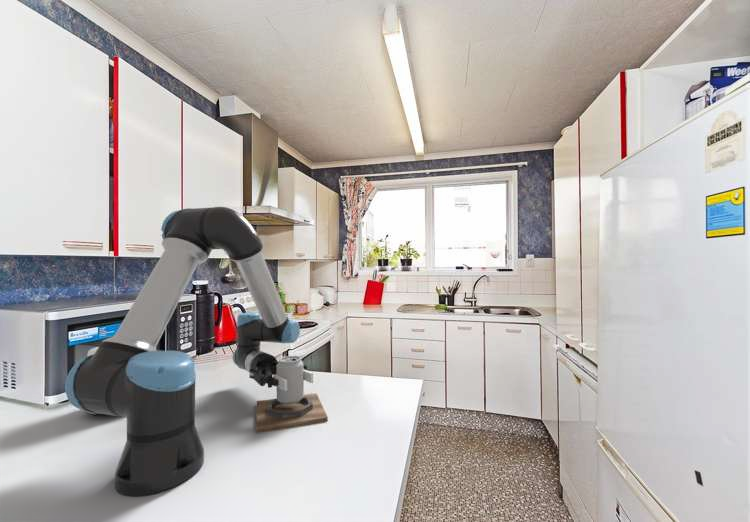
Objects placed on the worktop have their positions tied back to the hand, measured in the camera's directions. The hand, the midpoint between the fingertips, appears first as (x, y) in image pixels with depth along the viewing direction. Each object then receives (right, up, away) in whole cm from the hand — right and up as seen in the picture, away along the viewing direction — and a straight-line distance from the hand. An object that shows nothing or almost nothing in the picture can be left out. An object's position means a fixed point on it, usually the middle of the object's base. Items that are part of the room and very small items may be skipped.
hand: (299, 381), depth 91 cm
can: (-3, -7, +3) cm, 8 cm away
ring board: (-3, -10, +3) cm, 11 cm away
